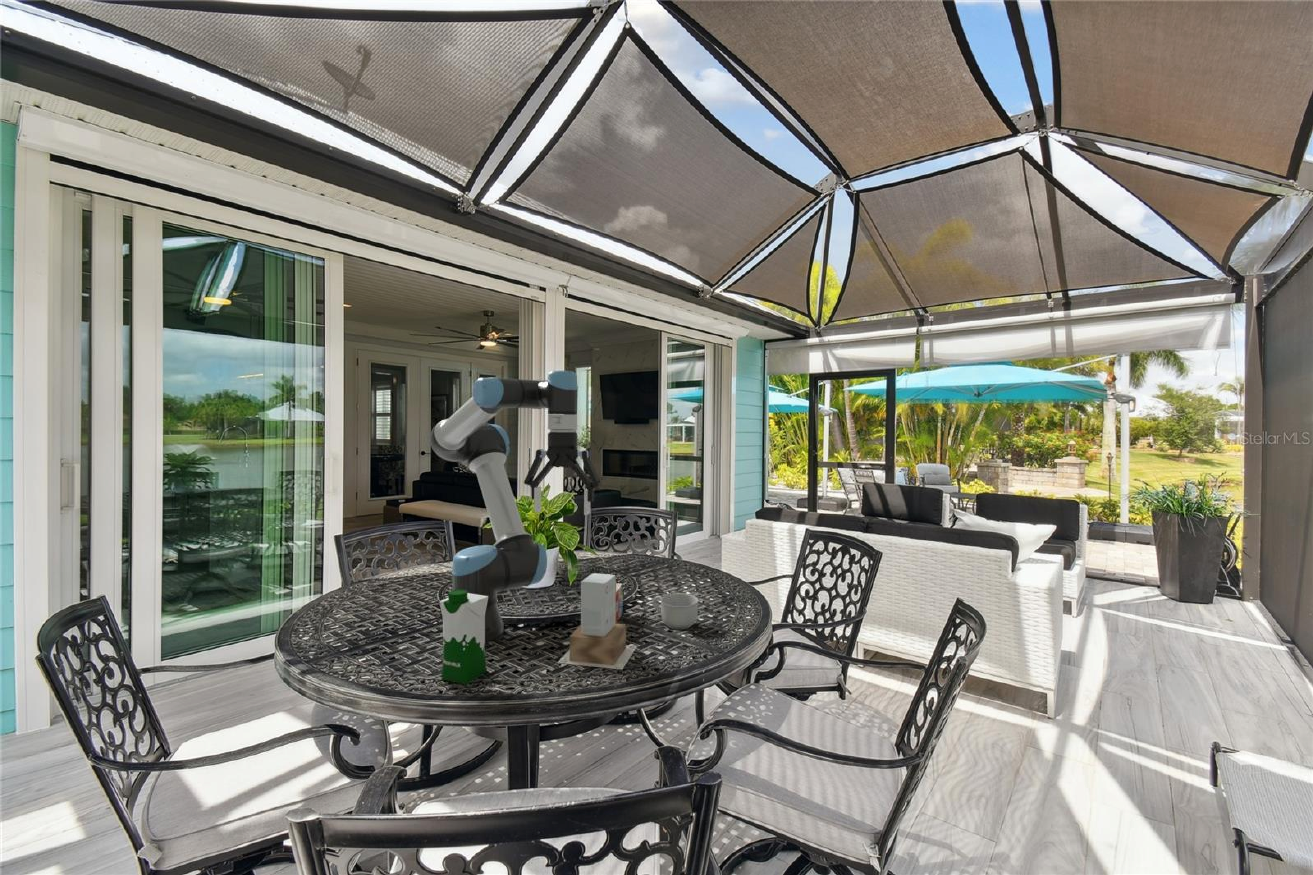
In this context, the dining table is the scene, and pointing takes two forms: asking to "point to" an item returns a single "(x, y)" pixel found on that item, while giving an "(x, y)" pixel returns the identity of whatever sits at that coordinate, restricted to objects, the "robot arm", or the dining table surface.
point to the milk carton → (463, 636)
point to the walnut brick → (598, 646)
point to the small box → (598, 604)
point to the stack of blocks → (618, 601)
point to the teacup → (678, 610)
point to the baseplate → (617, 665)
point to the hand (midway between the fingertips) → (562, 513)
